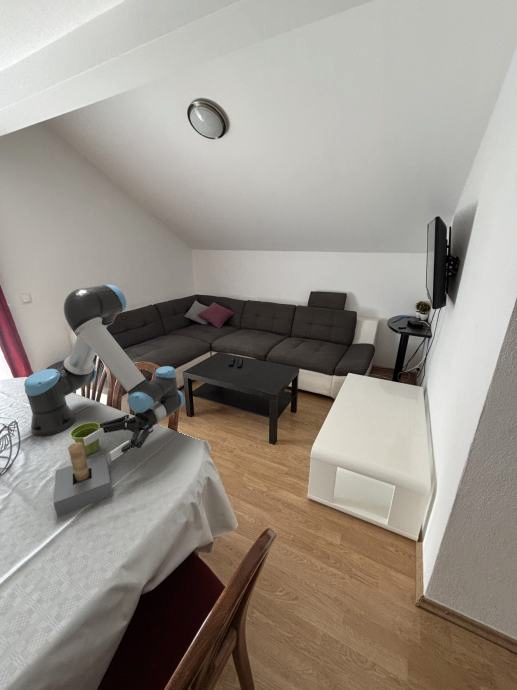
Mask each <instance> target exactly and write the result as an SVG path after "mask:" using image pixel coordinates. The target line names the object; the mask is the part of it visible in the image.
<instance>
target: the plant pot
mask: <svg viewBox="0 0 517 690" xmlns="http://www.w3.org/2000/svg"><path fill="white" fill-rule="evenodd" d="M99 424H100V423H98V422H94V421H91V422H85V423H82V424H79V425H77V426H76V427H74V428H73V429H72V430H70V432H69V435H70V438H71V439H72V440H74V443H77V442H81V443H82V444H83V448H84V453H85V456H86V455H89V454H93V453H95V452H96V451H98V450H99V448H100V438H99V439H97V440H95V441H94V442H92V443H90V444H89V445H87V446H85V444H84V440H83V438H85V437H86V436H88V435H90V434H92V433H93V432H95V431H96V430H98V429H100V425H99Z"/></svg>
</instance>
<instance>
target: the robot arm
mask: <svg viewBox="0 0 517 690" xmlns="http://www.w3.org/2000/svg"><path fill="white" fill-rule="evenodd" d="M126 308H127V299H126V297H125V294H124V292H123V291H122V290H121V289H120V288H119V287H118V286H116V285H113V284H101V285H97V286H90V287H85V288H83V287H81V288H78V289H77V288H76V289H74V290H73V291H71V292H70V293H69V294H68V295H67V296H66V298H65V300H64V303H63V314H64V317H65V320H66V322H67V324H68V326H69V327H70V329H71V330H72V331H73V333H74V334H75V335H77V336H76V339H75V341H74V345H73V347H72V350H71V353H70V355H69V356H67V357H66V358H65V359H64V360H63V363H62V365H61V367H60V368H57V369H55V368H47V369H44V370H39V371H37V372H34V373H32V374H31V375H29V376H27V378H26V379H25V381H24V383H23V385H24V393H25V394H26V397H27V399H28V400H27V401H28V404H29V407H30V410H31V413H32V416H31V424H30V430H31V432H32V434H33V435H35V436H38V437H45V436H52V435H55V434H59V433H61V432H63V431H65V430H68V429H70V427H72V425H74V424H75V422H76V416H75V413H74V411H72V410H71V407H69V405H68V403H67V401H66V396H68V395H71V394H73V393H74V392H76V391H78V390H79V389H81V388H84V387H85V386H89V385H90V384H91V383H92V382H94V381H95V379H96V377H97V367H96V365H95V363H94V359H95V357H96V356H97V357H98V358H99V359H100V360H101V362H102V363H103V364H104V365H105V366H106V368H107V369H108V371H109V372H110V373H111V374H112V375H113V376H114V378H115V379H116V380H117V381H118V383H119V384H120V385H121V387H123V389H124V390H125V391H126V392H127V394H128V395H129V396H128V397H127V400H126V401H127V405H128V407H129V409H130V410H131V411H132V412H134V413H136V414H135V415H134V416H133V417H131V416H130V414H126V415H123V416H121V417H118V418H114V419H111V420H107V421H104V422H100V423H98V424H99V425H100V429H98V430H96V431H95V432H93V433H92V434H90V435H88V436H86V437H85V438H83V440H84V444H85V446H87V445H89V444H90V443H92V442H94V441H95V440H97V439H99V440H100V439H101V438H102V437H103V436H105V434H108V433H113V432H117V431H129V432H131V433H132V435H131V438H130V439H129V440H126V441H124V443H122V444H120V445H118V446H117V447H115V448H114V449H112V450H111V451H109V455H110V460H111V461H114V460H115V459H118V458H119V457H120V456H121V455H123V454H125V453H127V452H128V451H130V450H131V449H135V448H136V449H139V450H140V449H142V447H143V445H144V443H145V442H146V440H147V439H148V437H149V435H151V433H153V432H154V426H155V425H156V424H158V423H160V422H161V421H163V420H164V419H165V418H167V417H168V416H170V415H172V414H173V413H175V412H176V411H179V409H181V408H182V407H183V406H184V405H185V403H186V397H185V396H184V393H182V391H180V390H179V389H178V382H177V373H176V369H175V368H174V367H173V366H169V365H166V366H165V365H164V366H161V367H158V368H157V369H155V373H154V374H155V375H154V376H155V378H153V379H152V380H150V381H149V380H147V379H146V378H145V375H143V373H142V372H141V371H140V370H139V369H138V367H137V366H136V365H135V364H134V362H133V361H132V360H131V358H130V357H129V355H127V353H126V352H125V351H124V349H123V348H122V347H121V346H120V344H119V343H118V342H117V341H116V339H115V338H114V337H113V336H112V334H111V333H110V332H109V331H108V329H107V328H108V326H110V325H112V324H113V323H114V321H115V319H116V317H117V315H118V314H121V313H123V312H124V311H125V310H126Z"/></svg>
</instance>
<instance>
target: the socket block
mask: <svg viewBox="0 0 517 690" xmlns="http://www.w3.org/2000/svg"><path fill="white" fill-rule="evenodd" d="M107 458H108V457H107V454H102V455H100V456H99V455H98V456H96V457H93V458H90V459H86V461H87V466H88V470H89V475H90V479H88V480H85V481H83V482H80V483H77V482H76V478H75V474H74V470H73V466H72V464H71V465H68V466H65V467H61V468H58V469H55V476H54V490H53V491H54V492H53V506H54V509H55V513H56V516H57V517H59V516H62V515H64V514H65V515H66V514H67V513H70V512H73V511H75V510H78V509H80V508H83V507H85V506H88V505H90V504H93V503H96V502H99V501H101V500H103V499H106V498H108V497H111V496H113V493H114V492H113V488H112V481H111V477H110V476H111V474H110V470H109V463H108V459H107Z"/></svg>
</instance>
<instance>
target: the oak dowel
mask: <svg viewBox="0 0 517 690" xmlns="http://www.w3.org/2000/svg"><path fill="white" fill-rule="evenodd" d="M67 450H68V453H69V457H70V462H71V465H72V466H73V470H74V474H75V478H76V482H77V483H80V482H83V481H85V480H88V479H90V475H89V470H88V466H87V461H86V460H87V458H86V455H85V453H84V448H83V444H82V443H81V442H77V443H76V442H74V443H72V444H70V445H69V446H68V448H67Z"/></svg>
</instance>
